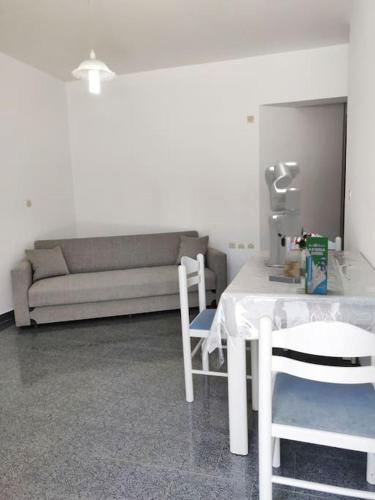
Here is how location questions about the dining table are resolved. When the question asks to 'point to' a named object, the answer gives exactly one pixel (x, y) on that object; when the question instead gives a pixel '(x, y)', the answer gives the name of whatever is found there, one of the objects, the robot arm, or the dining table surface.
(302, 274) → the bay
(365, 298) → the dining table surface
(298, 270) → the block
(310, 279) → the milk carton
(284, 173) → the robot arm
